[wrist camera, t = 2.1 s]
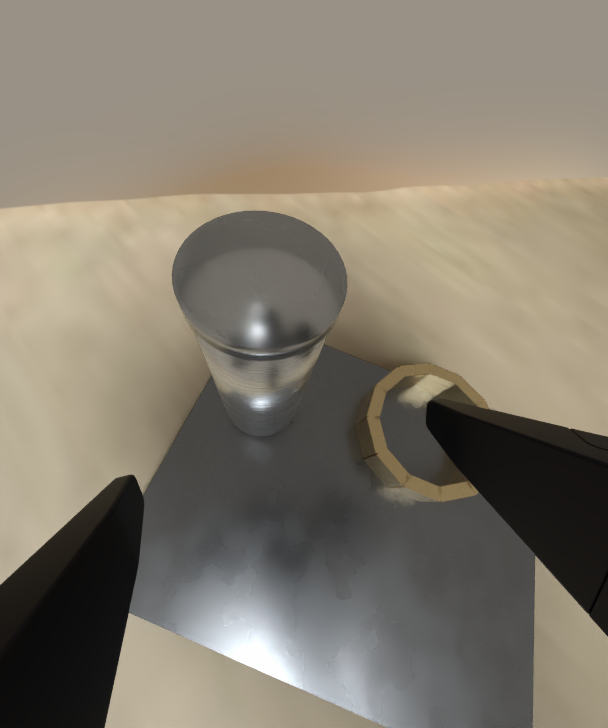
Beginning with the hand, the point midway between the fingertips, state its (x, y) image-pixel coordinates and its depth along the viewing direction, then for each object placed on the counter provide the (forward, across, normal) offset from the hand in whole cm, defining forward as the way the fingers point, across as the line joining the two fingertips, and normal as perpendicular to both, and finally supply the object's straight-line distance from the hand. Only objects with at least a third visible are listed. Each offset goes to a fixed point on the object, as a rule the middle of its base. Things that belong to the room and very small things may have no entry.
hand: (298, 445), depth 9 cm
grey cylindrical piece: (+11, 0, +4) cm, 12 cm away
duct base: (+6, -4, +10) cm, 13 cm away
